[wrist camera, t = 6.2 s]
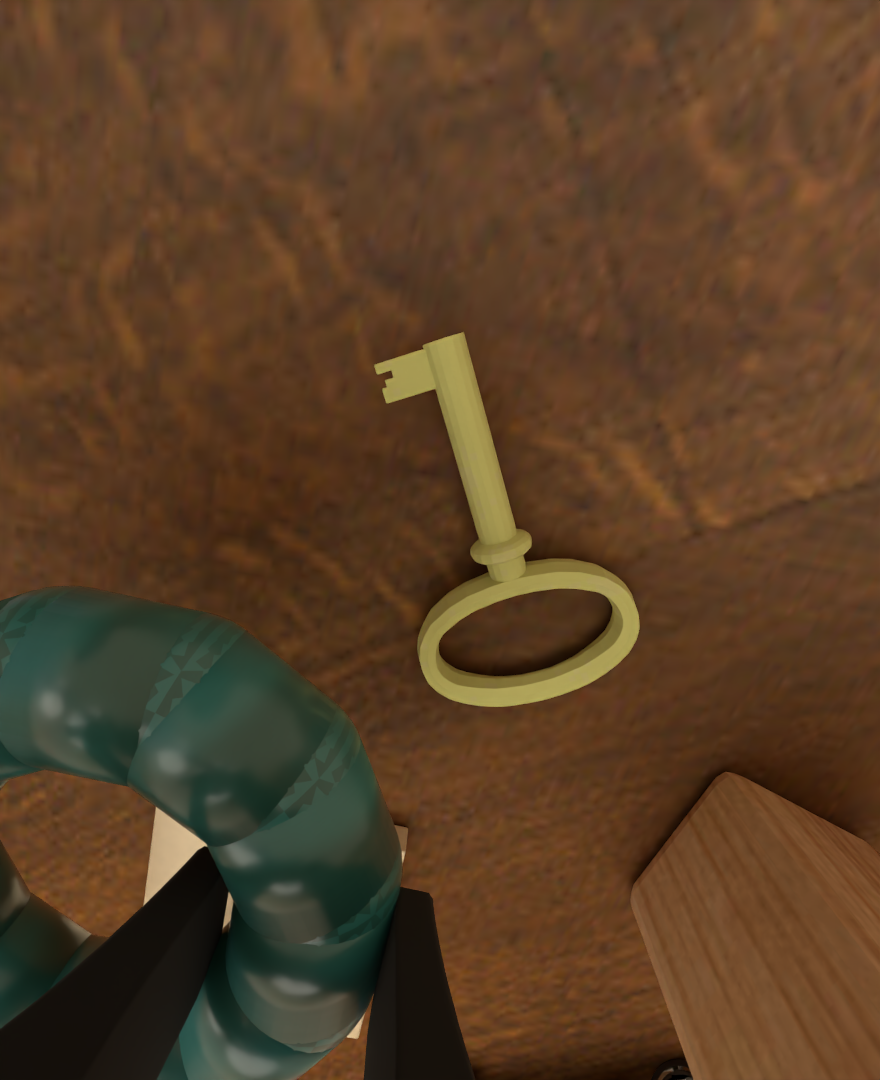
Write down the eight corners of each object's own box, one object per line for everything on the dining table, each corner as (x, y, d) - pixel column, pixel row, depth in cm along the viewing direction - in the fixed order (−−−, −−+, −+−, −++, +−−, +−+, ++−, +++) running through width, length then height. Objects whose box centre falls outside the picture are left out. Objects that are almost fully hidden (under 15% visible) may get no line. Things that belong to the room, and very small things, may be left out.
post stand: (148, 963, 23) (23, 1187, 16) (173, 776, 21) (42, 944, 14) (363, 1007, 23) (325, 1246, 16) (408, 827, 21) (387, 1016, 14)
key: (449, 317, 17) (448, 304, 15) (654, 632, 19) (679, 659, 17) (265, 454, 18) (240, 460, 16) (479, 736, 20) (482, 774, 18)
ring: (-103, 963, 13) (-264, 1122, 10) (-109, 518, 11) (-323, 558, 8) (353, 1052, 13) (324, 1232, 10) (452, 638, 11) (451, 721, 8)
